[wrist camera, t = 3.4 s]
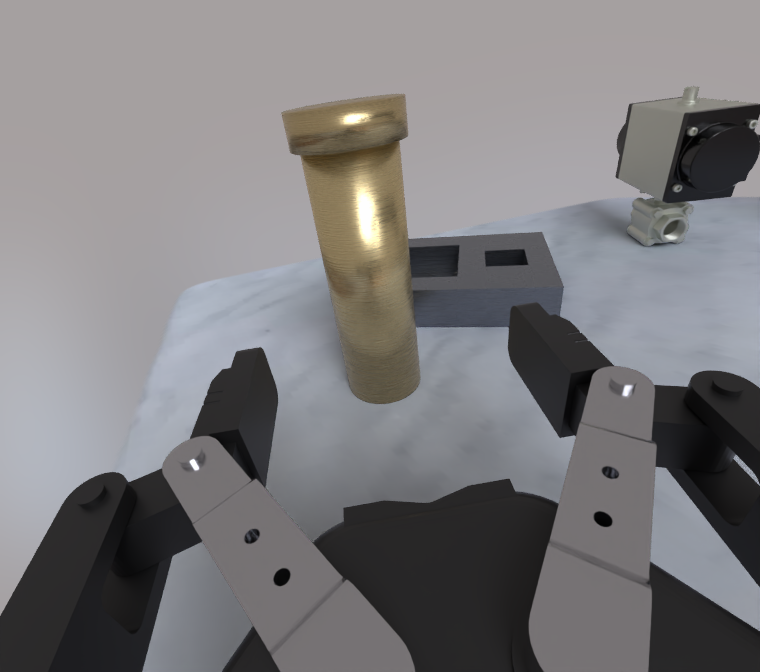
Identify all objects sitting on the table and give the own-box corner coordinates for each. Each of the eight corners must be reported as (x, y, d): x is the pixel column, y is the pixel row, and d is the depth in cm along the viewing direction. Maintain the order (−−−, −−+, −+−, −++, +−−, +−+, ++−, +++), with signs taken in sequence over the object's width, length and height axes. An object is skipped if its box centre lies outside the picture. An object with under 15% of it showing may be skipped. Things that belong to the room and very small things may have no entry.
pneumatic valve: (660, 267, 33) (708, 96, 26) (600, 221, 42) (624, 88, 36) (734, 260, 32) (802, 83, 25) (656, 215, 42) (690, 79, 35)
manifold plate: (538, 265, 36) (541, 232, 34) (558, 326, 27) (563, 286, 26) (383, 270, 39) (379, 240, 37) (360, 327, 31) (353, 291, 29)
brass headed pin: (430, 354, 27) (412, 90, 18) (422, 410, 22) (394, 100, 14) (354, 353, 28) (306, 105, 20) (333, 406, 24) (260, 118, 15)
